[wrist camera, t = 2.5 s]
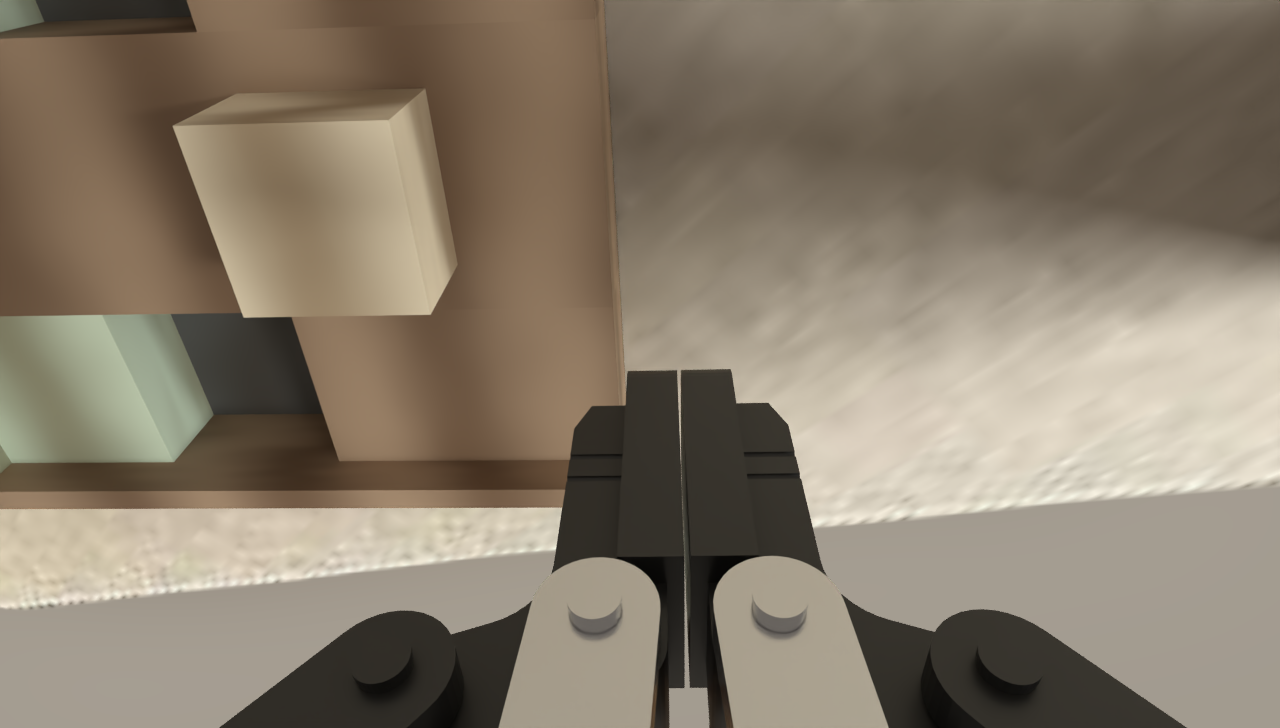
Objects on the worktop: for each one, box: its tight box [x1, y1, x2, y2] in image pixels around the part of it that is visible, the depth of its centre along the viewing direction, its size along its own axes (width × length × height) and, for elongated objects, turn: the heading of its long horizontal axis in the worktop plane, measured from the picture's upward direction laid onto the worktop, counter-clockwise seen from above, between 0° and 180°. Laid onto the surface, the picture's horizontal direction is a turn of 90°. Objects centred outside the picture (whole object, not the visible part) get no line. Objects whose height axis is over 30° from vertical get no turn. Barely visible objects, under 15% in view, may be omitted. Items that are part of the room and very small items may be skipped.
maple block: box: [173, 88, 458, 318], centre depth 20 cm, size 5×5×3 cm
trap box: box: [0, 0, 626, 509], centre depth 22 cm, size 23×22×4 cm
